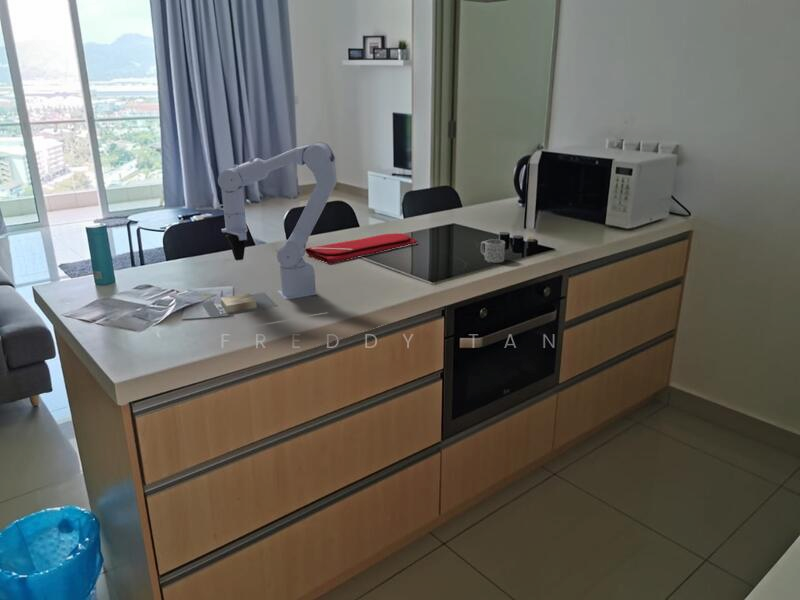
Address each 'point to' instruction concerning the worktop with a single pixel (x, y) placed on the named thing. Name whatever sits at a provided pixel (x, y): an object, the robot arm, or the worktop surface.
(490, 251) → the mug
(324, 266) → the worktop surface
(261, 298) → the rubber mat
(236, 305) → the maple tile
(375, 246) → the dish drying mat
